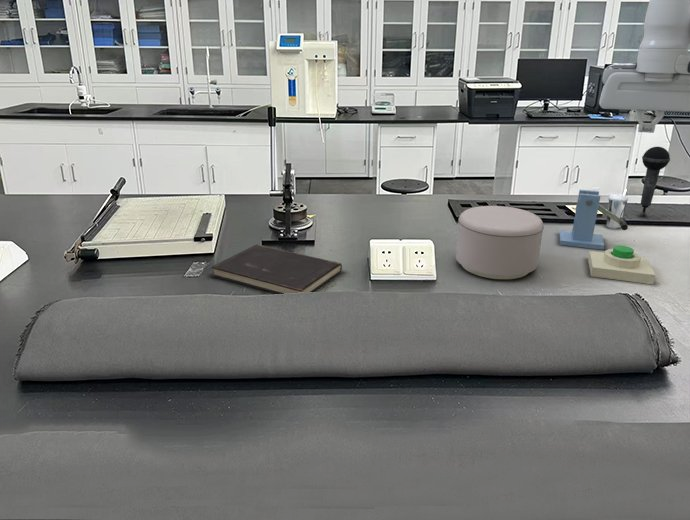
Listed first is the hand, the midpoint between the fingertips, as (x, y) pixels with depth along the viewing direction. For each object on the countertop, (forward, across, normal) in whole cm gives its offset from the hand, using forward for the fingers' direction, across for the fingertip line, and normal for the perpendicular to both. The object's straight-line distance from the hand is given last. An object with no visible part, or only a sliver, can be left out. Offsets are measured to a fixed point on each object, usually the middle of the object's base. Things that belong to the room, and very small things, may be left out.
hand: (645, 132), depth 114 cm
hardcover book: (+29, -71, -37) cm, 85 cm away
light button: (+25, -1, -10) cm, 27 cm away
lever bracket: (+29, -8, +7) cm, 31 cm away
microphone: (+29, +10, +36) cm, 47 cm away
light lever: (+21, -5, +7) cm, 23 cm away
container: (+29, -27, -16) cm, 43 cm away
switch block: (+29, -1, -10) cm, 31 cm away
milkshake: (+29, +1, +23) cm, 37 cm away
